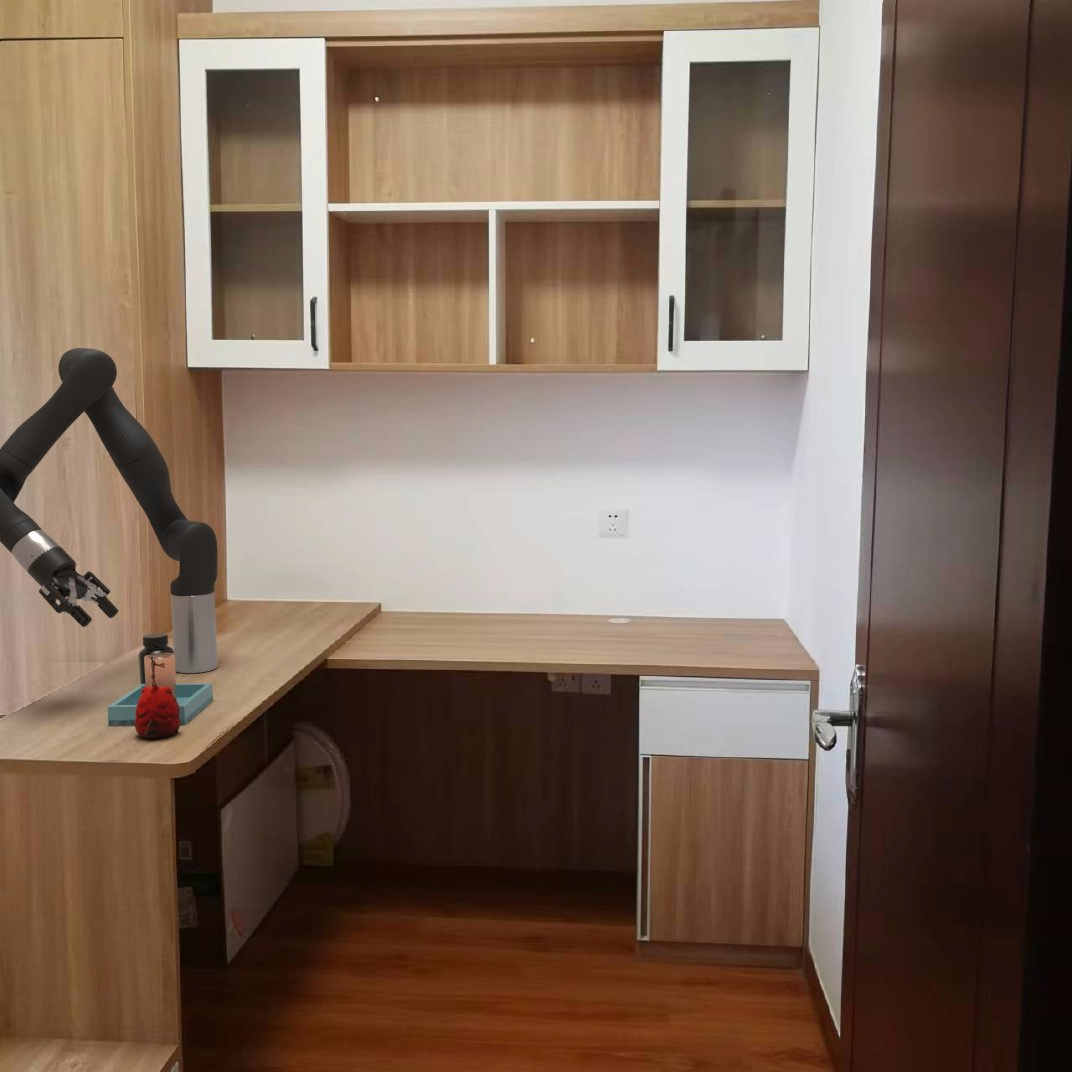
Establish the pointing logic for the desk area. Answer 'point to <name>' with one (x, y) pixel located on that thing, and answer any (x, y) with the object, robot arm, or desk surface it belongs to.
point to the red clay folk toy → (157, 710)
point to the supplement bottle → (152, 650)
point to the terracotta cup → (161, 671)
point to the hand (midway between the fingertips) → (101, 619)
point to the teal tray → (188, 699)
